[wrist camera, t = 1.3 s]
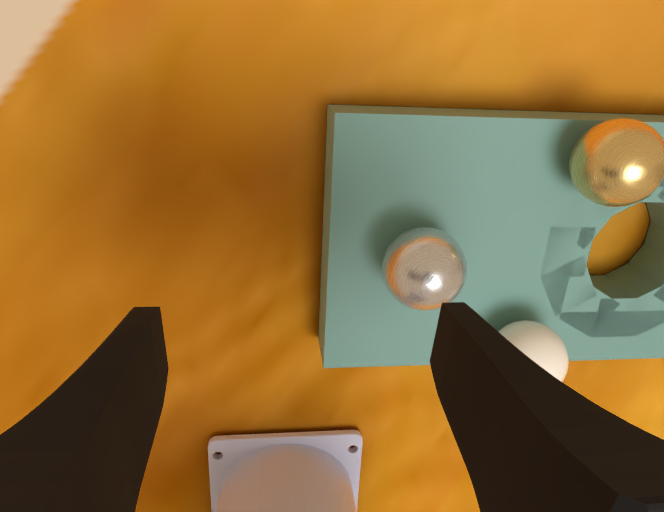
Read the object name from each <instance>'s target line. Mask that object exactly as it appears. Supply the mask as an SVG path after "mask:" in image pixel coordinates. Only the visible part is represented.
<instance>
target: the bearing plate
mask: <svg viewBox="0 0 664 512" xmlns="http://www.w3.org/2000/svg"><path fill="white" fill-rule="evenodd" d="M619 118H627V119H635V120H638V121H641V122H644V123H646V124H648V125H650V126H651V127H653V128H654V129H655V130H656V131H657V132H658V133H659V134H660V135H661V136H662V138H663V140H664V115H649V114H617V113H586V112H554V111H523V110H491V109H460V108H428V107H397V106H365V105H334V104H328V106H327V131H326V157H325V183H324V208H323V234H322V260H321V285H320V311H319V337H318V338H319V344H320V350H321V356H322V362H323V368H341V367H375V366H408V365H430V357H431V352H432V347H433V343H434V338H435V333H436V328H437V324H438V319H439V314H440V309H441V308H439V309H436V310H431V311H419V310H414V309H411V308H408V307H406V306H404V305H402V304H401V303H399V302H398V301H397V300H396V299H395V298H394V297H393V296H392V295H391V294H390V292H389V291H388V289H387V287H386V285H385V283H384V279H383V275H382V263H383V258H384V255H385V252H386V250H387V248H388V247H389V245H390V244H391V243H392V241H393V240H394V239H395V238H396V237H398V236H399V235H400V234H402V233H403V232H405V231H408V230H410V229H413V228H418V227H431V228H436V229H439V230H441V231H443V232H445V233H447V234H449V235H450V236H451V237H453V238H454V239H455V240H456V241H457V243H458V244H459V245H460V247H461V248H462V250H463V252H464V255H465V258H466V262H467V277H466V281H465V284H464V286H463V288H462V290H461V292H460V293H459V295H458V296H457V297H456V298H455V299H454V300H453V301H452V302H465V303H466V304H467V305H468V306H469V307H471V308H472V309H473V310H474V311H475V312H476V313H478V314H479V315H480V316H481V317H482V318H483V319H484V320H486V321H487V322H488V323H489V324H490V325H491V326H492V327H493V328H495V329H496V330H497V331H499V330H500V329H502V328H503V327H504V326H506V325H508V324H510V323H513V322H516V321H523V320H528V321H535V322H539V323H542V324H544V325H546V326H548V327H549V328H551V329H552V330H553V331H555V332H556V333H557V334H558V335H559V337H560V338H561V339H562V341H563V342H564V344H565V346H566V349H567V353H568V359H569V361H576V360H609V359H642V358H664V179H663V181H662V182H661V184H660V185H659V186H658V188H657V189H656V190H655V191H654V192H653V193H652V194H650V195H649V196H648V197H646V198H645V199H643V200H641V201H639V202H646V205H647V208H648V212H649V216H650V220H651V221H650V225H649V228H648V232H647V235H646V238H645V242H644V244H643V246H642V247H641V248H640V249H639V250H638V251H637V253H636V254H635V255H634V256H633V257H632V258H631V260H630V261H629V262H628V263H627V264H625V265H623V266H621V267H619V268H617V269H615V270H613V271H611V272H609V273H607V274H605V275H589V272H588V269H587V266H586V264H587V260H588V256H589V252H590V248H591V244H592V240H593V238H594V237H595V236H596V235H597V234H598V232H599V231H600V230H601V229H602V228H603V226H604V225H605V224H606V223H607V221H608V220H609V219H610V218H611V217H612V216H613V215H615V214H617V213H619V212H621V211H623V210H625V209H627V208H629V207H631V206H633V205H635V204H637V203H638V202H637V203H634V204H631V205H628V206H622V207H608V206H603V205H599V204H596V203H594V202H592V201H590V200H588V199H586V198H585V197H584V196H583V195H582V194H581V193H580V192H579V191H578V190H577V189H576V187H575V185H574V184H573V182H572V179H571V176H570V170H569V162H570V157H571V153H572V151H573V148H574V146H575V145H576V143H577V142H578V140H579V139H580V138H581V137H582V135H583V134H584V133H586V132H587V131H588V130H589V129H591V128H592V127H594V126H596V125H597V124H600V123H602V122H604V121H608V120H612V119H619Z"/></svg>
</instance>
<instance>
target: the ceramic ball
mask: <svg viewBox="0 0 664 512" xmlns="http://www.w3.org/2000/svg"><path fill="white" fill-rule="evenodd" d="M498 332H499V333H500V334H501V335H503V336H504V337H505V338H506V339H507V340H508V341H510V342H511V343H512V344H513V345H514V346H515V347H517V348H518V349H519V350H520V351H522V352H523V353H524V354H525V355H526V356H528V357H529V358H530V359H531V360H533V361H534V362H535V363H537V364H538V365H539V366H541V367H542V368H543V369H545V370H546V371H547V372H549V373H550V374H551V375H552V376H554V377H555V378H557V379H558V380H560V381H561V382H562V381H563V380H564V378H565V376H566V374H567V370H568V365H569V359H568V353H567V349H566V346H565V344H564V342H563V341H562V339H561V338H560V337H559V335H558V334H557V333H556V332H555V331H553V330H552V329H551V328H549V327H548V326H546V325H544V324H542V323H539V322H535V321H528V320H523V321H516V322H513V323H510V324H508V325H506V326H504V327H503V328H502V329H500V330H499V331H498Z"/></svg>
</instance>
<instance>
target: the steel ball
mask: <svg viewBox="0 0 664 512" xmlns="http://www.w3.org/2000/svg"><path fill="white" fill-rule="evenodd" d="M382 275H383V279H384V283H385V285H386V287H387V289H388V291H389V292H390V294H391V295H392V296H393V297H394V298H395V299H396V300H397V301H398V302H399V303H401V304H402V305H404V306H406V307H408V308H411V309H414V310H419V311H431V310H436V309H439V308H441V305H442V303H446V302H452V301H453V300H454V299H455V298H456V297H457V296H458V295H459V293H460V292H461V290H462V288H463V286H464V284H465V281H466V277H467V262H466V258H465V255H464V252H463V250H462V248H461V247H460V245H459V244H458V243H457V241H456V240H455V239H454V238H453V237H451V236H450V235H449V234H447V233H445V232H443V231H441V230H439V229H436V228H431V227H418V228H413V229H410V230H408V231H405V232H403V233H402V234H400V235H399V236H398V237H396V238H395V239H394V240H393V241H392V243H391V244H390V245H389V247H388V248H387V250H386V252H385V255H384V258H383V263H382Z"/></svg>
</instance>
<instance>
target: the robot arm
mask: <svg viewBox="0 0 664 512" xmlns="http://www.w3.org/2000/svg"><path fill="white" fill-rule="evenodd" d="M430 365H431V369H432V373H433V378H434V382H435V385H436V389H437V393H438V396H439V399H440V402H441V404H442V407H443V409H444V412H445V414H446V417H447V420H448V422H449V425H450V427H451V430H452V432H453V435H454V437H455V440H456V442H457V445H458V447H459V450H460V452H461V455H462V457H463V460H464V462H465V465H466V467H467V470H468V472H469V475H470V478H471V481H472V484H473V487H474V490H475V494H476V497H477V501H478V504H479V508H480V511H481V512H664V440H663V439H660V438H658V437H656V436H654V435H652V434H650V433H648V432H646V431H644V430H642V429H640V428H638V427H636V426H634V425H632V424H630V423H628V422H626V421H625V420H623V419H621V418H619V417H618V416H616V415H614V414H612V413H610V412H609V411H607V410H605V409H603V408H601V407H600V406H598V405H596V404H595V403H593V402H591V401H590V400H588V399H587V398H585V397H584V396H582V395H581V394H579V393H577V392H576V391H574V390H573V389H571V388H570V387H568V386H567V385H565V384H564V383H562V382H561V381H560V380H558V379H557V378H555V377H554V376H552V375H551V374H550V373H549V372H547V371H546V370H545V369H543V368H542V367H541V366H539V365H538V364H537V363H535V362H534V361H533V360H531V359H530V358H529V357H528V356H526V355H525V354H524V353H523V352H522V351H520V350H519V349H518V348H517V347H515V346H514V345H513V344H512V343H511V342H510V341H508V340H507V339H506V338H505V337H504V336H503V335H501V334H500V333H499V332H498V331H497V330H496V329H495V328H493V327H492V326H491V325H490V324H489V323H488V322H487V321H486V320H484V319H483V318H482V317H481V316H480V315H479V314H478V313H476V312H475V311H474V310H473V309H472V308H471V307H469V306H468V305H467V304H466V303H465V302H446V303H442V305H441V309H440V314H439V319H438V324H437V328H436V333H435V338H434V343H433V347H432V352H431V357H430ZM167 375H168V362H167V354H166V347H165V340H164V333H163V325H162V318H161V311H160V307H134V308H133V309H132V310H131V311H130V312H129V313H128V314H127V315H126V317H125V318H124V319H123V320H122V321H121V322H120V324H119V325H118V326H117V327H116V328H115V329H114V331H113V332H112V333H111V334H110V335H109V336H108V337H107V338H106V340H105V341H104V342H103V343H102V344H101V345H100V346H99V347H98V348H97V349H96V350H95V352H94V353H93V354H92V355H91V356H90V357H89V358H88V359H87V360H86V361H85V362H84V363H83V364H82V365H81V366H80V367H79V368H78V369H77V370H76V371H75V372H74V373H73V374H72V375H71V376H70V377H69V378H68V379H67V380H66V381H65V382H64V383H63V384H62V385H61V386H60V387H59V388H58V389H57V390H56V391H54V392H53V393H52V394H51V395H50V396H49V397H48V398H47V399H45V400H44V401H43V402H42V403H41V404H40V405H39V406H37V407H36V408H35V409H34V410H33V411H31V412H30V413H29V414H28V415H26V416H25V417H24V418H23V419H21V420H20V421H19V422H18V423H16V424H15V425H14V426H12V427H11V428H9V429H8V430H7V431H5V432H4V433H2V434H1V435H0V512H135V508H136V504H137V499H138V495H139V491H140V487H141V483H142V480H143V476H144V472H145V469H146V465H147V462H148V458H149V455H150V451H151V448H152V444H153V440H154V437H155V433H156V430H157V426H158V422H159V419H160V415H161V411H162V408H163V403H164V396H165V390H166V383H167ZM362 444H363V439H362V434H361V433H360V432H359V431H357V430H334V431H312V432H290V433H267V434H245V435H222V436H214V437H212V438H211V439H210V440H209V443H208V462H209V478H210V495H211V511H212V512H357V504H358V492H359V480H360V468H361V456H362ZM352 445H355V447H353V448H350V446H352ZM215 452H221V453H222V454H216V453H215Z"/></svg>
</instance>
